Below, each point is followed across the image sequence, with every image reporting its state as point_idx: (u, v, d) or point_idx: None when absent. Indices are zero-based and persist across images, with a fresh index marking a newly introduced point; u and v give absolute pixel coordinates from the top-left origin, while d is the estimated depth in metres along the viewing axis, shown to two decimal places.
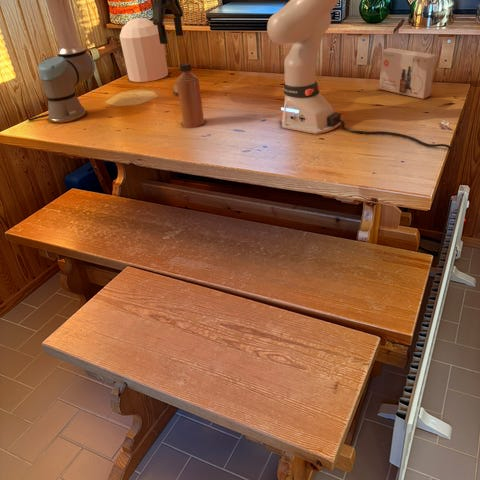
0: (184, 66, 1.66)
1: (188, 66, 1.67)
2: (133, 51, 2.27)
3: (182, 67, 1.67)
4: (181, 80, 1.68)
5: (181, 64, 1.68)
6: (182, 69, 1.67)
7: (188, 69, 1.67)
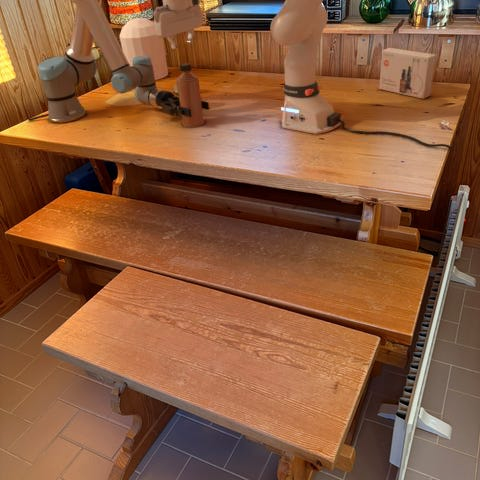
0: (184, 66, 1.66)
1: (188, 66, 1.67)
2: (133, 51, 2.27)
3: (182, 67, 1.67)
4: (181, 80, 1.68)
5: (181, 64, 1.68)
6: (182, 69, 1.67)
7: (188, 69, 1.67)
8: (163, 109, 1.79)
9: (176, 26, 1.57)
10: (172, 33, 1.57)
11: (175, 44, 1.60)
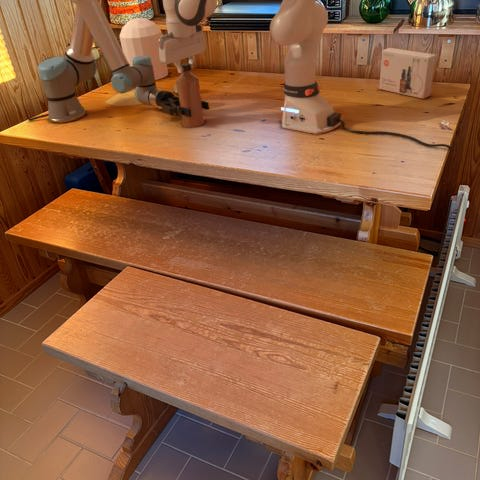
0: (184, 66, 1.66)
1: (188, 66, 1.67)
2: (133, 51, 2.27)
3: None
4: (181, 80, 1.68)
5: (181, 64, 1.68)
6: None
7: (188, 69, 1.67)
8: (163, 109, 1.79)
9: (180, 52, 1.62)
10: (176, 59, 1.62)
11: (181, 68, 1.66)
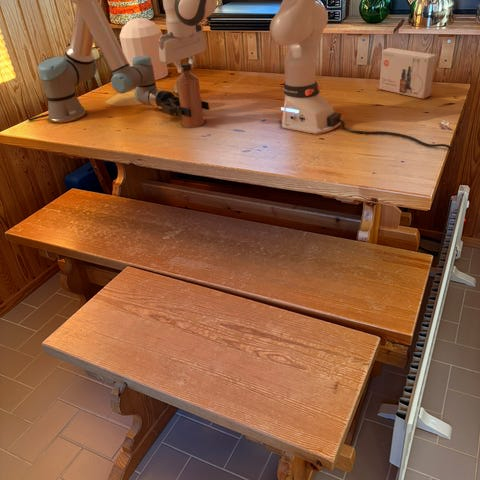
0: (189, 64, 1.67)
1: None
2: (133, 51, 2.27)
3: (189, 66, 1.67)
4: (181, 80, 1.68)
5: (183, 65, 1.66)
6: (189, 68, 1.67)
7: None
8: (163, 109, 1.79)
9: (180, 52, 1.62)
10: (176, 59, 1.62)
11: (181, 68, 1.66)
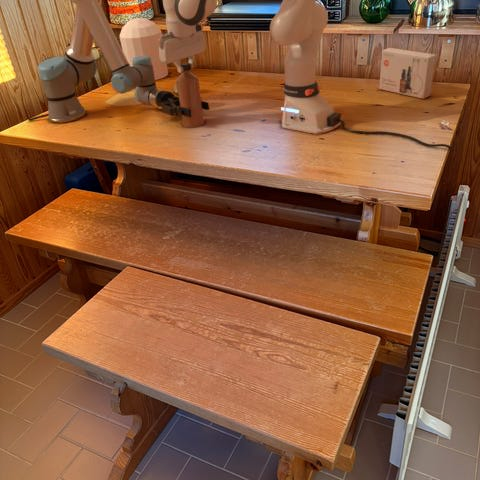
0: None
1: None
2: (133, 51, 2.27)
3: None
4: (181, 80, 1.68)
5: (188, 63, 1.67)
6: None
7: None
8: (163, 109, 1.79)
9: (180, 52, 1.62)
10: (176, 59, 1.62)
11: (181, 68, 1.66)
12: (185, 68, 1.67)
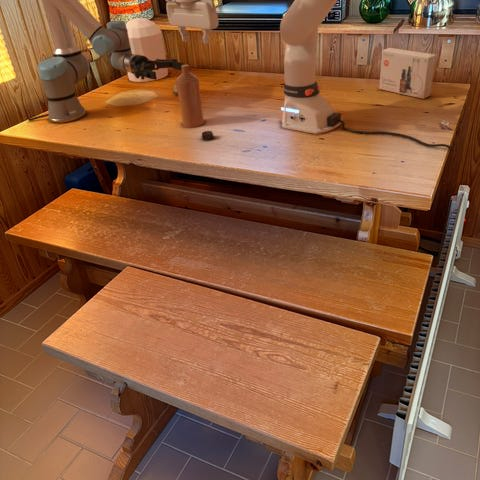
0: None
1: None
2: (133, 51, 2.27)
3: None
4: (181, 80, 1.68)
5: (210, 133, 1.64)
6: None
7: None
8: (133, 72, 1.80)
9: None
10: None
11: None
12: (206, 138, 1.64)
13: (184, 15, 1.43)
